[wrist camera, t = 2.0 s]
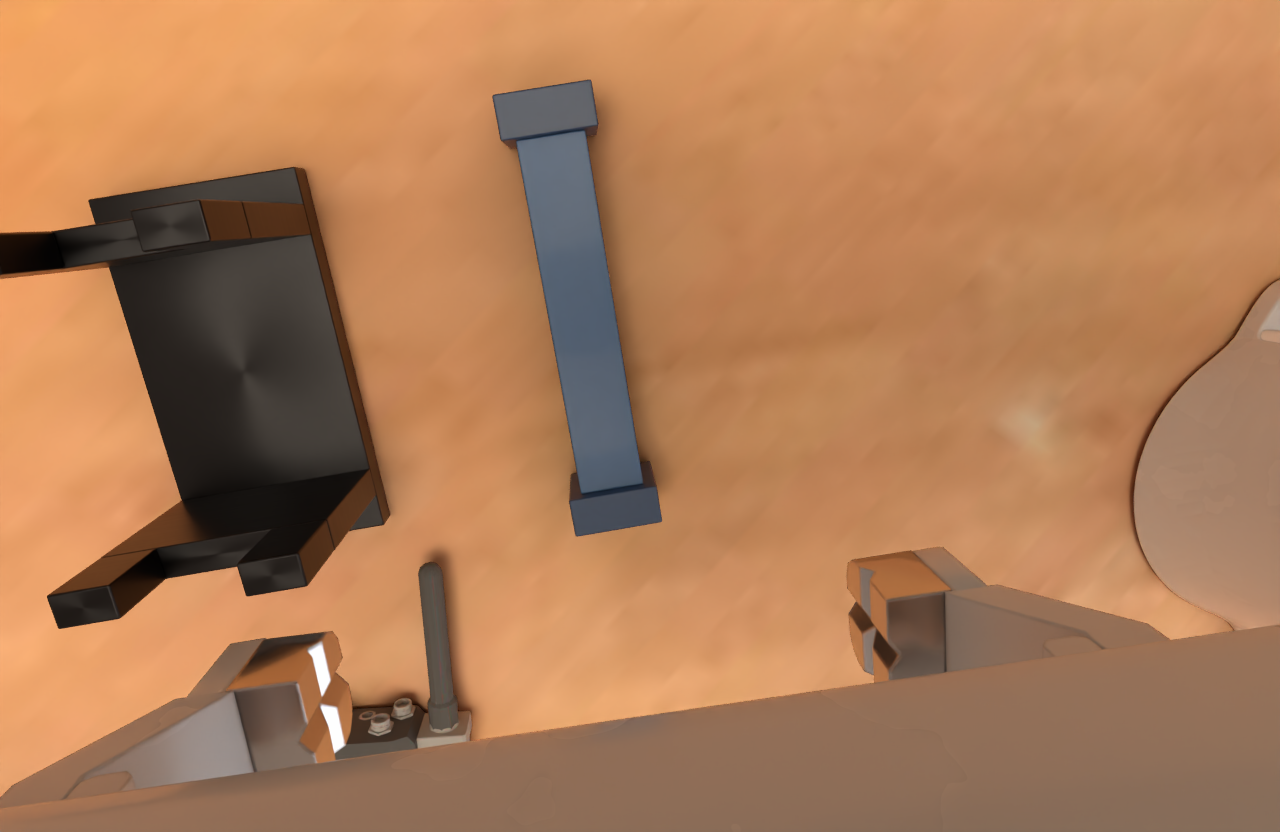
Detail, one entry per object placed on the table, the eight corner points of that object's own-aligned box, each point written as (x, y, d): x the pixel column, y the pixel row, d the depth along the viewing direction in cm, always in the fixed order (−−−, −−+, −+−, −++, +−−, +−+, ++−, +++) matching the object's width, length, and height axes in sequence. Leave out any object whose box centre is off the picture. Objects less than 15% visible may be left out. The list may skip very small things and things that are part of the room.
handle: (590, 93, 33) (591, 79, 30) (655, 493, 37) (662, 522, 34) (501, 107, 33) (492, 94, 29) (576, 507, 37) (575, 537, 34)
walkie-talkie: (490, 915, 42) (459, 549, 37) (479, 994, 38) (442, 593, 33) (314, 928, 42) (260, 559, 37) (283, 1010, 37) (217, 604, 32)
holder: (304, 168, 33) (184, 148, 23) (390, 515, 37) (318, 626, 27) (104, 200, 33) (-103, 193, 23) (211, 546, 36) (71, 668, 27)
